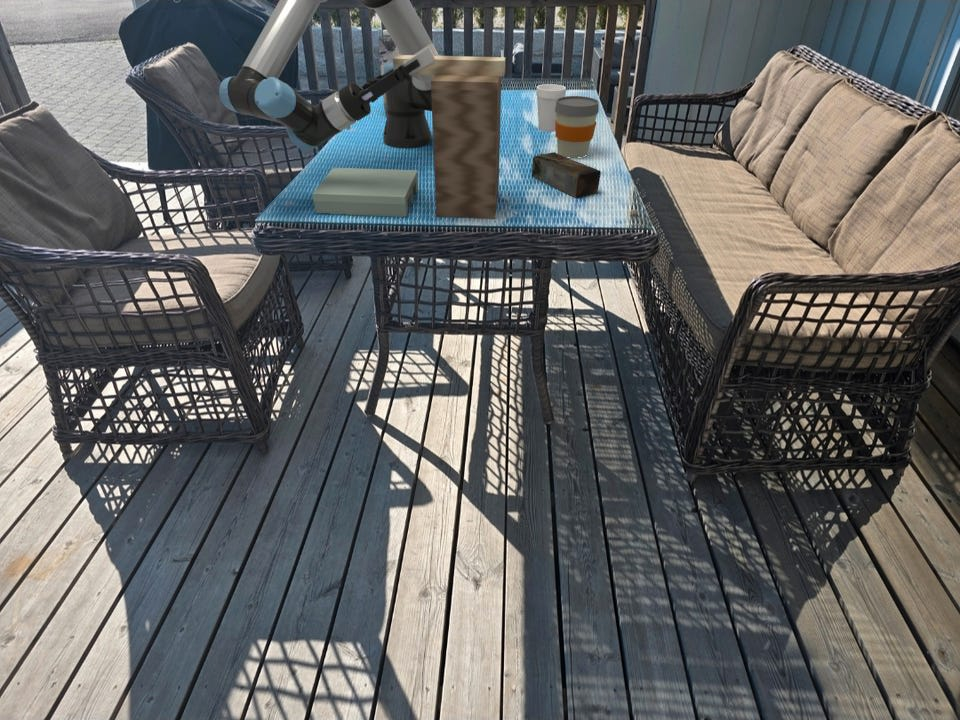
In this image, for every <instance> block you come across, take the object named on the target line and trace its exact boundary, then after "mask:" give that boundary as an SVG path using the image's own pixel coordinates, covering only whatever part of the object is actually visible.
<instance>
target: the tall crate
mask: <svg viewBox="0 0 960 720" xmlns="http://www.w3.org/2000/svg"><path fill="white" fill-rule="evenodd" d="M502 77H503V76H470V75H434V77H433V78H432V80H431V98H432V111H431V120H432V145H433V169H434V190H435V191H434V193H435V217H437V218H457V219H458V218H461V219H463V218H464V219H484V220H485V219H487V220H495V219H496V213H497V207H498V206H497V205H498V200H499V192H500V190H499V189H500V187H499V186H500V184H499V183H500V181H499V180H500V154H501V153H500V151H501V150H500V149H501V147H500V145H501V116H502V115H501V110H502V109H501V108H502V107H501V106H502V105H501V103H502Z"/></svg>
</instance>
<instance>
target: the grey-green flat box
mask: <svg viewBox="0 0 960 720" xmlns="http://www.w3.org/2000/svg"><path fill="white" fill-rule="evenodd" d="M418 173H419V172H418V170H416V169H415V170H414V169H413V170H410V169H386V168H385V169H383V168H355V167H350V168H349V167H332V169H331V170H329V173H328V174H327V175H326V176H325V177H324V178H323V180H322V181H321V182H320V183H319V185H318V186H317V187H316V188H315V190H313V192H312V194H311V195H312V201H313V204H314V210H315V214H316V213H330V214H329V215H342V214H346V215H350V216H370V217H371V216H372V217H373V216H375V217H377V216H378V217H395V218H396V217H398V218H401V217H402V218H407V216H408V214H409V206H411V205H413V202H414V194H418V191H419V180H418V177H419V175H418ZM346 215H345V216H346Z"/></svg>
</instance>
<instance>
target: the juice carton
mask: <svg viewBox="0 0 960 720" xmlns="http://www.w3.org/2000/svg"><path fill="white" fill-rule="evenodd" d="M378 49H379V50H378V53H379V62H380V63H379V64H380V75H383V74H384V67H385V65H386V64H387V63H390V62H393V58H394V57H395V56H396V55H402V54H401V53H400V51H399V50H398V48H397V46H396V45H395V43H394V41H393V40H392V38H391V36H390V35H389V33H388V31H387V30H386V29H383V30H382V35H380V36H379V37H378ZM382 96H383V97H382V98H383V107H384V112H385V116H386V117H387V106H386V96H385V94H384V95H382Z"/></svg>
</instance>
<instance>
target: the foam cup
mask: <svg viewBox="0 0 960 720" xmlns="http://www.w3.org/2000/svg"><path fill="white" fill-rule="evenodd" d="M535 92H536V94H535V95H536V101H537V120H538V129H539V131H542V132H547V131H549V133H550V132H555V120H556V112H555V107H556V102H557V99H558V98H561V97H566V93H567V87H566V86H564V85H562V84H557V83H553V84H552V83H546V84H539V85H537V86H536V91H535Z"/></svg>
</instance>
